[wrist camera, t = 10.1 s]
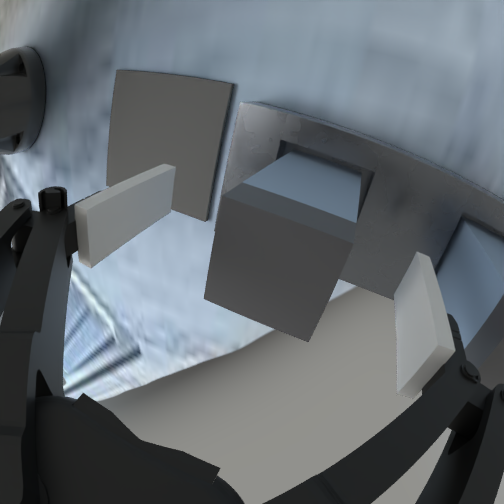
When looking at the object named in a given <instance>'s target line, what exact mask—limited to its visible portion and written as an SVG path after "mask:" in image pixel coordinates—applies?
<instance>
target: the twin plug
mask: <svg viewBox="0 0 504 504" xmlns="http://www.w3.org/2000/svg"><path fill="white" fill-rule="evenodd" d="M434 272H435V275H436V278H437V281H438V285H439V288H440V291H441V295H442V298H443V302H444V305H445V309H446V313H448V314H451V315H452V316H453V317H454V319H455V320H456V322H457V324H458V327H459V331H460V334H461V338H462V340H461V341H462V342H463V346H464V351H465V355H466V359H467V361H470V362H471V363H472V364H473V365H474V366H475V367H476V368H477V369H478V371H479V373H480V377H481V382H480V383H481V384H483V385H484V386H486V387H487V388H489V389H490V390H493V389H494V388H495V387H496V386H497V385H498V384H500V383H501V384H504V238H503V237H502V236H500V235H498V234H496V233H494V232H493V231H491V230H489V229H487V228H485V227H483V226H481V225H479V224H478V223H476V222H474V221H472V220H470V219H468V218H466V217H464V216H462V215H461V217H460V220H459V222H458V224H457V226H456V228H455V230H454V232H453V234H452V236H451V238H450V240H449V242H448V244H447V246H446V248H445V250H444V252H443V254H442V256H441V258H440V260H439V262H438V264H437V265H436V267H435V269H434Z"/></svg>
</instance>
